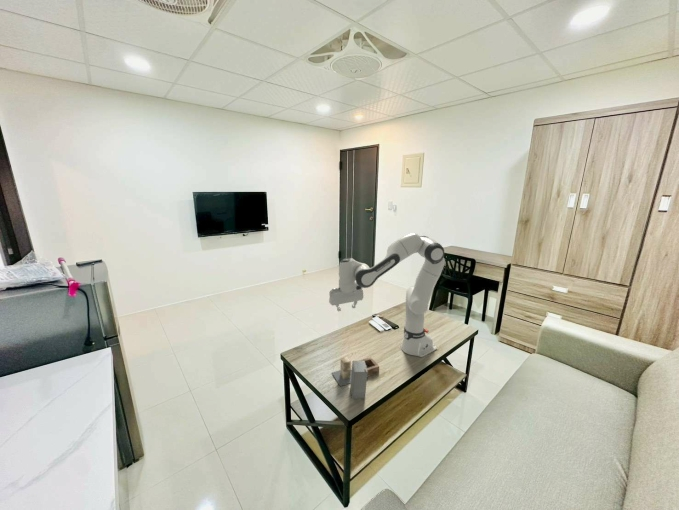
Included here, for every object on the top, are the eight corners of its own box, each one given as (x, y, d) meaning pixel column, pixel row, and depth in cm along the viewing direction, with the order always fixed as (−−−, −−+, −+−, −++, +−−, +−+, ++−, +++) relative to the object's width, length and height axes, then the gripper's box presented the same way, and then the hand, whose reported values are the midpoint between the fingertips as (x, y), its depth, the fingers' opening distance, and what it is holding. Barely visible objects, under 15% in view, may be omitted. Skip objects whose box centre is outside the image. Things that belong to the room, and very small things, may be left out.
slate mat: (349, 368, 152) (349, 367, 152) (359, 380, 143) (359, 379, 142) (331, 373, 148) (331, 372, 148) (340, 386, 138) (340, 385, 138)
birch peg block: (347, 372, 148) (347, 356, 145) (350, 377, 144) (350, 361, 142) (340, 374, 146) (340, 358, 144) (343, 379, 143) (343, 363, 140)
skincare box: (350, 387, 138) (350, 360, 134) (363, 386, 139) (364, 359, 135) (352, 399, 130) (352, 371, 126) (366, 398, 130) (368, 370, 126)
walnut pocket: (370, 363, 157) (370, 357, 156) (379, 372, 149) (379, 366, 148) (356, 367, 153) (357, 361, 152) (364, 377, 145) (365, 370, 144)
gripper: (331, 291, 144) (331, 315, 148) (365, 285, 153) (364, 308, 156) (327, 287, 150) (327, 310, 153) (359, 282, 158) (359, 304, 162)
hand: (346, 309), depth 155 cm, fingers open, 8 cm apart
